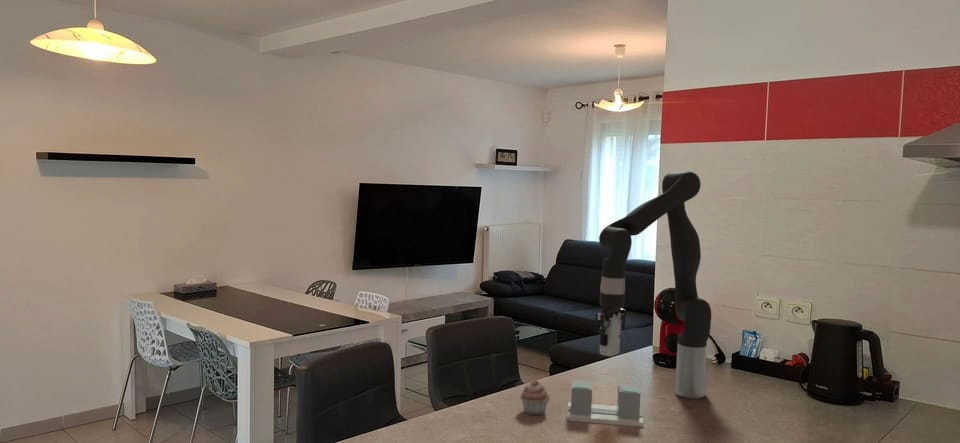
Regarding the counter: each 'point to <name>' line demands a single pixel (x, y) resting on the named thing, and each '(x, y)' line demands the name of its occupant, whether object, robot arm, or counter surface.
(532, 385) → the cupcake
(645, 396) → the counter surface
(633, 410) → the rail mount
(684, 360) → the robot arm
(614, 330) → the skincare box
